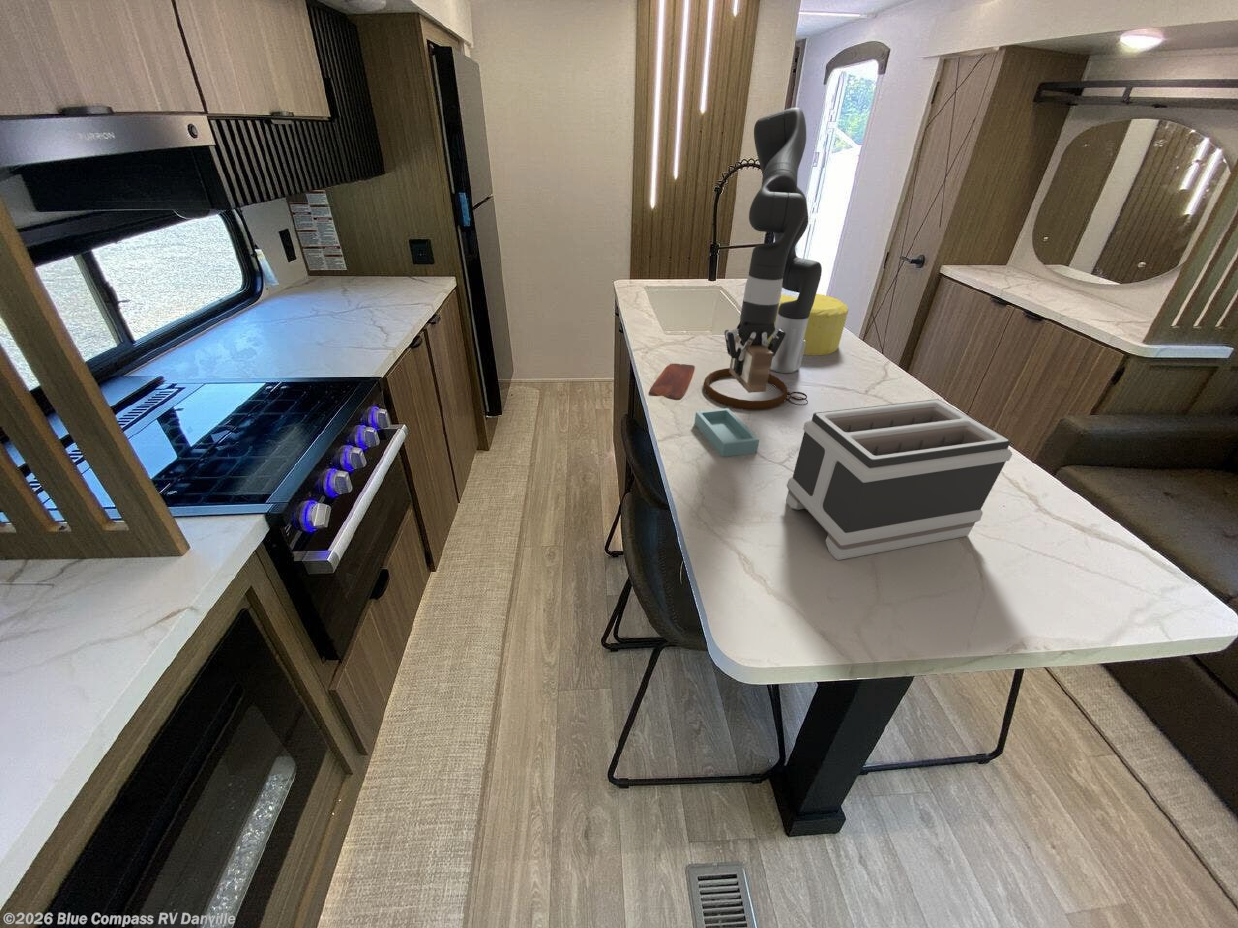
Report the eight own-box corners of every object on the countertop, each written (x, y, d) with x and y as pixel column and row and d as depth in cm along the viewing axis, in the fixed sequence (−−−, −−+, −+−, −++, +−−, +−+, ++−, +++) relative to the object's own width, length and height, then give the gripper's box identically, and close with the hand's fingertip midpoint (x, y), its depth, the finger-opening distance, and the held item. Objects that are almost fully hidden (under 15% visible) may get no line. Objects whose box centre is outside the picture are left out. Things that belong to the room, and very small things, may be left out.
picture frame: (728, 371, 123) (734, 335, 119) (744, 371, 124) (751, 334, 119) (748, 392, 114) (755, 353, 109) (765, 391, 114) (773, 353, 109)
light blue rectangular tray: (694, 423, 133) (695, 411, 131) (726, 419, 135) (728, 408, 133) (722, 457, 120) (724, 444, 118) (756, 452, 122) (759, 439, 120)
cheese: (771, 326, 201) (778, 287, 193) (841, 337, 193) (852, 296, 184) (757, 347, 181) (764, 304, 173) (834, 360, 173) (846, 316, 164)
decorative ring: (807, 413, 134) (695, 392, 143) (804, 422, 136) (694, 402, 144) (812, 378, 153) (713, 362, 162) (810, 387, 155) (712, 370, 163)
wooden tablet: (681, 402, 144) (681, 397, 143) (647, 397, 147) (647, 391, 146) (699, 368, 166) (699, 363, 165) (668, 363, 168) (669, 358, 167)
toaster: (988, 534, 99) (1040, 440, 88) (834, 563, 91) (869, 464, 80) (919, 480, 114) (955, 394, 102) (781, 501, 106) (804, 411, 94)
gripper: (784, 293, 113) (769, 367, 122) (723, 294, 111) (712, 369, 120) (800, 303, 107) (783, 379, 116) (736, 303, 104) (723, 382, 114)
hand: (747, 373), depth 118 cm, fingers closed on picture frame, 4 cm apart
